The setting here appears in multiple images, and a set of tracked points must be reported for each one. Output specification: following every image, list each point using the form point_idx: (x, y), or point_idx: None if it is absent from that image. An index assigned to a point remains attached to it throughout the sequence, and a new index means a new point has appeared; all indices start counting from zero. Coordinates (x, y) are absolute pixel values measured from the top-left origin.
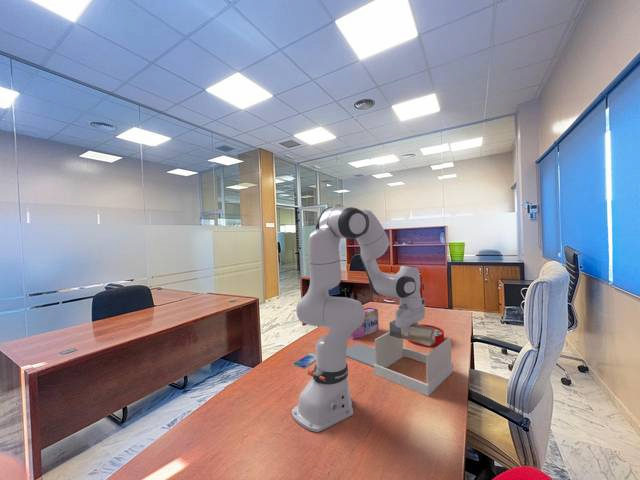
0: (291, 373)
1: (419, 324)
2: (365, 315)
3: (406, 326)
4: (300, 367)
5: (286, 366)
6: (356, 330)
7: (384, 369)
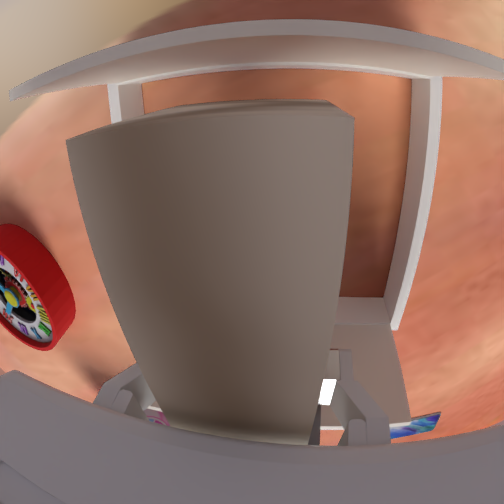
0: (466, 409)
1: (3, 325)
2: None
3: (453, 444)
4: (439, 417)
5: (442, 428)
6: None
7: (410, 285)
